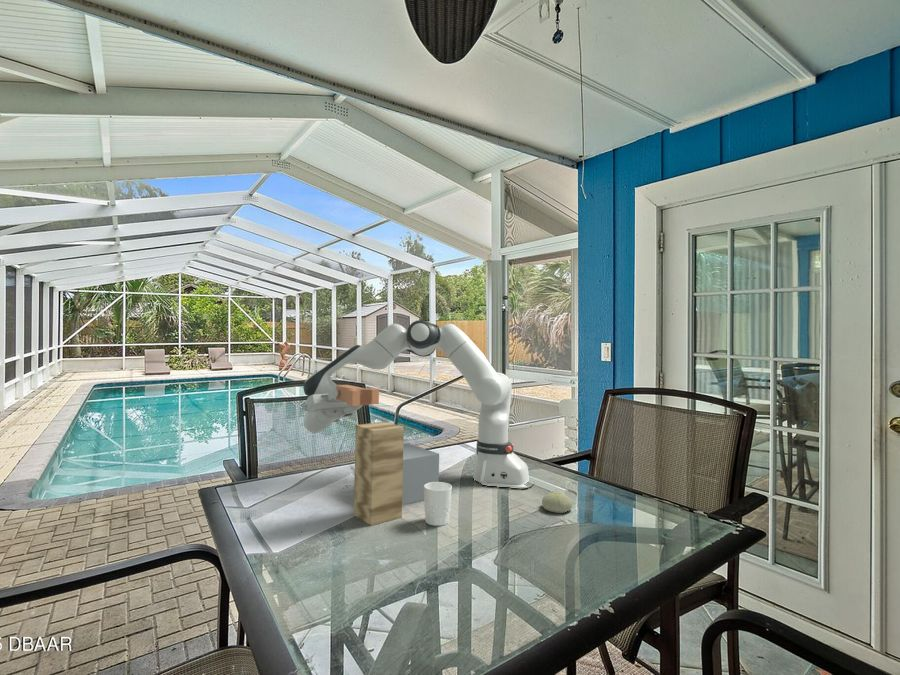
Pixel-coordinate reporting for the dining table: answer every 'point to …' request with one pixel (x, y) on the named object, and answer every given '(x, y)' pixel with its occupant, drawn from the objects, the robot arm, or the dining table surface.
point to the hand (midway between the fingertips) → (346, 391)
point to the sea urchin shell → (557, 502)
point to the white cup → (437, 503)
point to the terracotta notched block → (358, 395)
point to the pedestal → (378, 472)
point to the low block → (418, 472)
